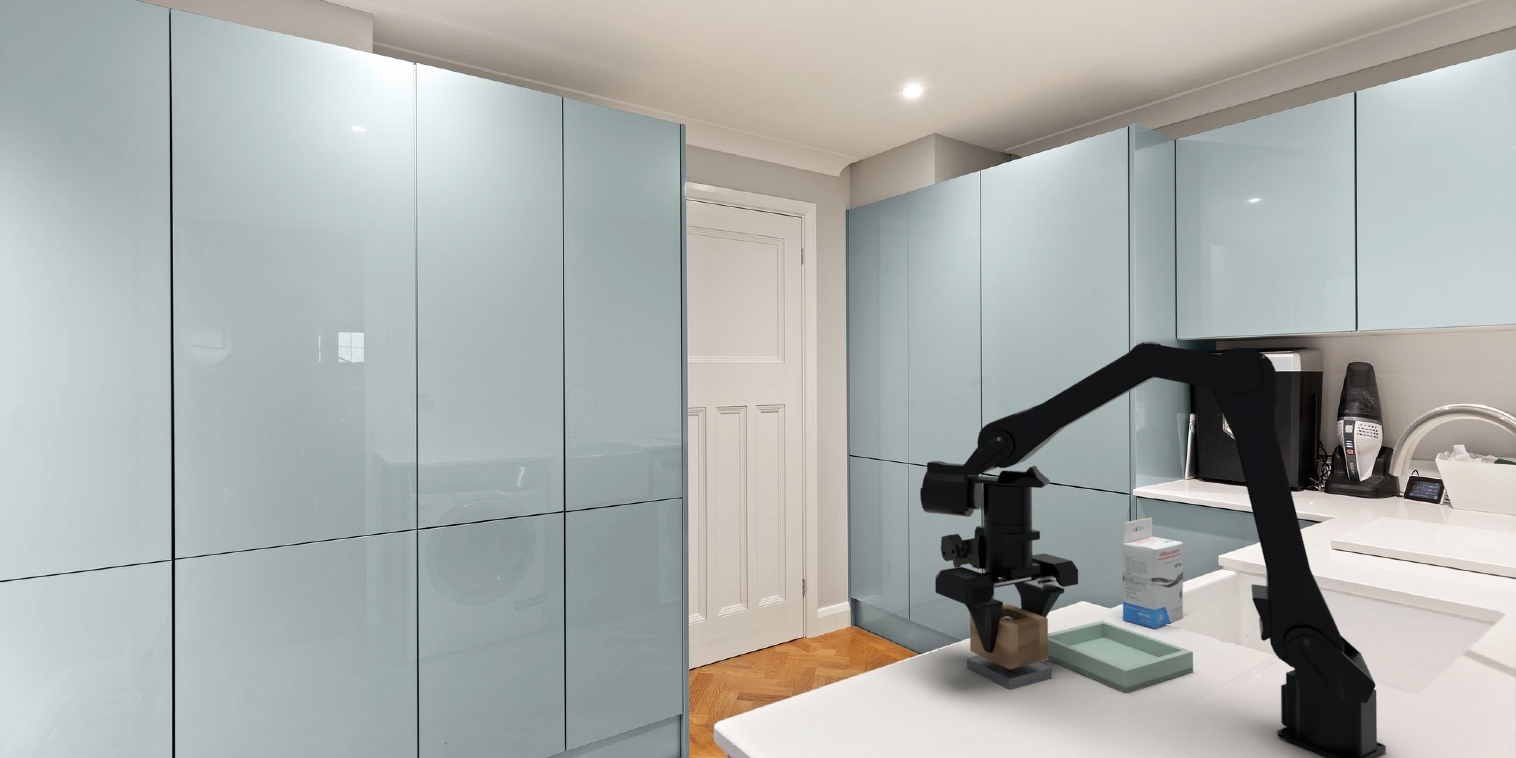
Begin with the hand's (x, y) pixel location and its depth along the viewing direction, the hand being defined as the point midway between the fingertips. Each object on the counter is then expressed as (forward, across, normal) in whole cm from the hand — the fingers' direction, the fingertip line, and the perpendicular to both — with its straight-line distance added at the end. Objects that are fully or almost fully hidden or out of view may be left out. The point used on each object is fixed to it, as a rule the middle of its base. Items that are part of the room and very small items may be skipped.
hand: (1008, 646), depth 86 cm
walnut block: (+1, 0, 0) cm, 1 cm away
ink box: (+3, -34, -4) cm, 34 cm away
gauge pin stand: (+3, 0, 0) cm, 3 cm away
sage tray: (+3, -14, +4) cm, 15 cm away
